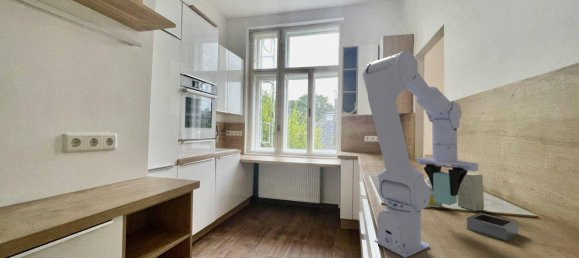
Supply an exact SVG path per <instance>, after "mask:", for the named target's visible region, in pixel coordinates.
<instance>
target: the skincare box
mask: <svg viewBox="0 0 579 258" xmlns="http://www.w3.org/2000/svg"><path fill="white" fill-rule="evenodd" d="M483 176H484V175H483V174H482V173H475V172H471V171H468V172H467V174H466V175H465V177H464V179H463V180H462V182H461V185H460V187H459V191H458V195H457V206H458V207H460V208H463V207H464V209H467V208H468V210H470V209H471V210H470V211H474V212H477V211H478V210H479V211H484V210H485V204H484V203H485V200H484V180H483ZM483 209H484V210H483Z"/></svg>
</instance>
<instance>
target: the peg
mask: <svg viewBox="0 0 579 258" xmlns="http://www.w3.org/2000/svg"><path fill="white" fill-rule="evenodd" d="M433 192H434V201H435V202H438V203H442V205H447V206H452V205H454V204H458V200H457V195H456V196H451V182H450V176H449V172H448V171H445V172H444V171H441V172H436V173H433Z"/></svg>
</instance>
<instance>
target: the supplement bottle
mask: <svg viewBox="0 0 579 258" xmlns="http://www.w3.org/2000/svg"><path fill="white" fill-rule="evenodd" d="M426 183H427V185H428V187H429V189H430V201H429V203H428V205H429V207H431V206H434V207H433V208H442V207H443V204H442V203H438V202H435V201H434V192H433V189H432V185H431V182H430V180H429V177H428V176H427V177H426ZM428 205H427V206H428ZM441 206H442V207H441Z"/></svg>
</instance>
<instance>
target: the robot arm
mask: <svg viewBox="0 0 579 258" xmlns="http://www.w3.org/2000/svg"><path fill="white" fill-rule="evenodd" d="M362 77H363V81H364V85H365V90H366V92H367V93H366V94H367V99H368V100H367V101H368V104H369V108H370V112H371V115H372V120H373V123H374V127H375V131H376V135H377V139H378V143H379V147H380V148H379V149H380V151H381V155H382V158H383V163H384V166H385V168H384V169H382V170H381V171H380V172H379V174H378V176H377V178H378V192H379V195H380V197H381V198H382V199H383V204H385V205H386V206H385V208H384V209H383V210H381V211H380V212H379V213H378V215H377V221H376V222H377V238H376V239H374V243H376V244H378V245H380V246H381V247H384V248H386V249H387V250H389V251H391V252H393V253H395V254H396V255H399V256H401V257H403V258H408V257H410V256H412V255H415V254H417V253H419V252H421V251H423V250H425V249H428V248H430V244H429V243H427V242H425V241H423V240H422V217H421V216H422V210H424V209H426V207H428V203H429V201H430V189H429V187H428V185H427V181H426V180H425V177H424V174H423V173H422V172H421V171H420V170H419V169H417V168H416V167H414V166H413V165H412V164H411V161H410V156H409V152H408V148H407V142H406V139H405V135H404V130H403V125H402V123H401V118H400V117H401V116H400V113H399V109H398V105H397V101H396V100H397V98H398V96H399V94H401V93H402V92H404V91H405V90H407V91H409V92H410V93H411V94H413V95H414V96H415V98H416V99H415V101H416V103H417V105H419V107H421V108H422V109H423V110H424V111H425V114H426V115H427V119H428V121H429V122H431V126H432V127H431V128H432V129H431V130H432V132H431V134H432V135H431V137H432V138H431V139H432V141H431V142H432V158H430V157H417V158H416V165H422V166H423V165H424V166H423V170H424V172H425V173H426V176H427V178H428V177H429V180H430V182H431V185H432V189H433V173H436V172H442V168H448V171H447V173H449V176H450V182H451V196H456V195H458V191H459V187H460V185H461V182H462V180H463V179H464V177H465V175H466V174H467V172H479V163H478V162H472V161H470V162H469V161H463V160H458V129H459V128H460V121H461V118H462V113H463V112H462V108H461V105H460V103H458V102H456V101H455V100H454V101H453V100H452V101H450V99H448V98H447V97H446V96H445V94H444V93H443V92H442V91H440V89H438V87H436V86H429V84H427V82H426V81H425V79H424V78H423V77H422V76H421V74H420V72H419V64H418V60H417V59H416V57H415V55H414V54H413V53H412V52H410V51H409V50H403V51H401V52H399V53H395V54H393V55H389V56H387V57H383V58H381V59H378V60H375V61H371V62H369V63H367V65H366V66H365V68H364V71H363V73H362Z"/></svg>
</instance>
